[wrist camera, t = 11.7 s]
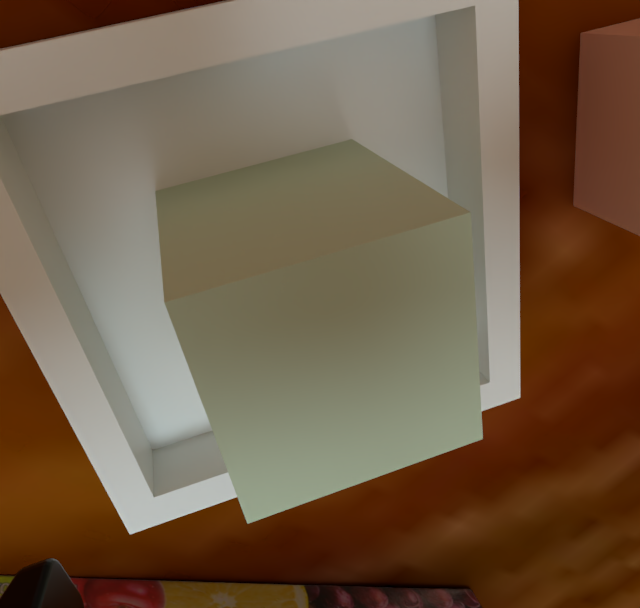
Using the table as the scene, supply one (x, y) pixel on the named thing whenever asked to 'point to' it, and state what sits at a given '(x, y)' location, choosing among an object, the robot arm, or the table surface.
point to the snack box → (257, 595)
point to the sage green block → (323, 320)
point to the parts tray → (219, 157)
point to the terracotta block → (609, 125)
